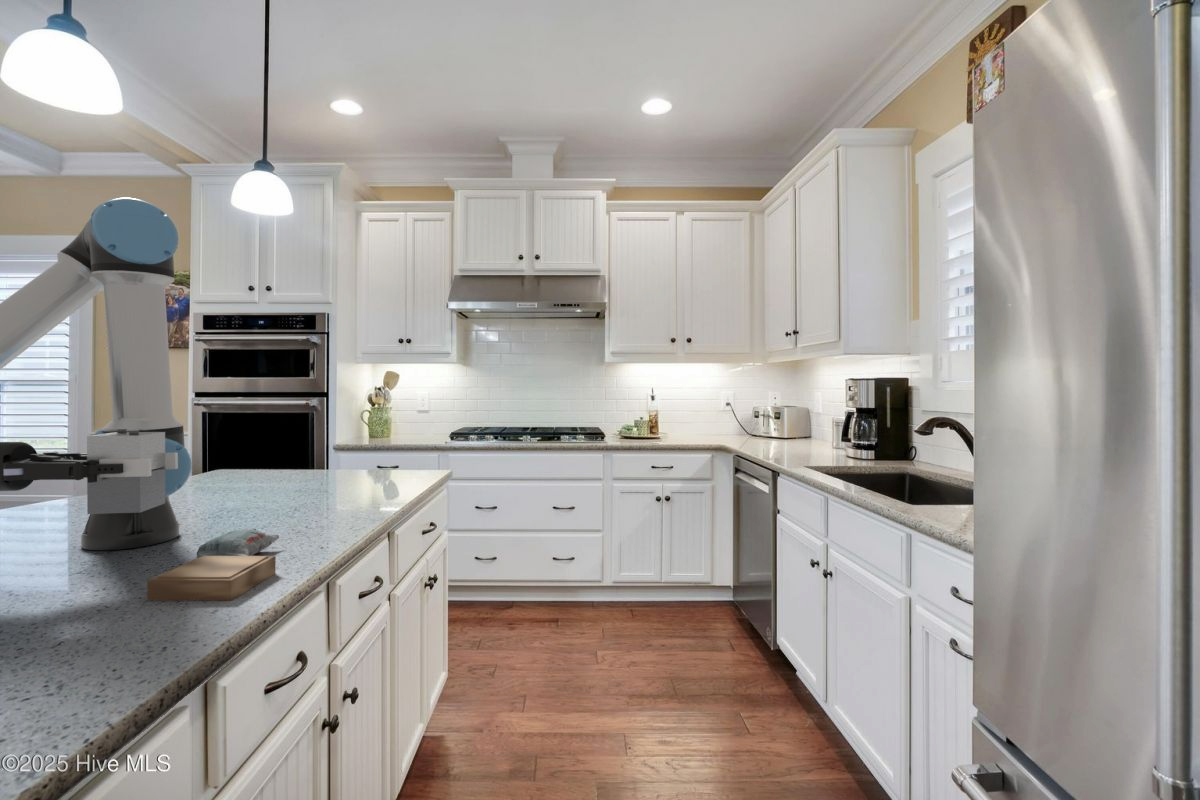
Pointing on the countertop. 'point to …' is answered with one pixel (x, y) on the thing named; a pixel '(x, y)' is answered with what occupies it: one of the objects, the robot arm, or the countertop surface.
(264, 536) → the packaged food
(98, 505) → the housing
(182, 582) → the stand
